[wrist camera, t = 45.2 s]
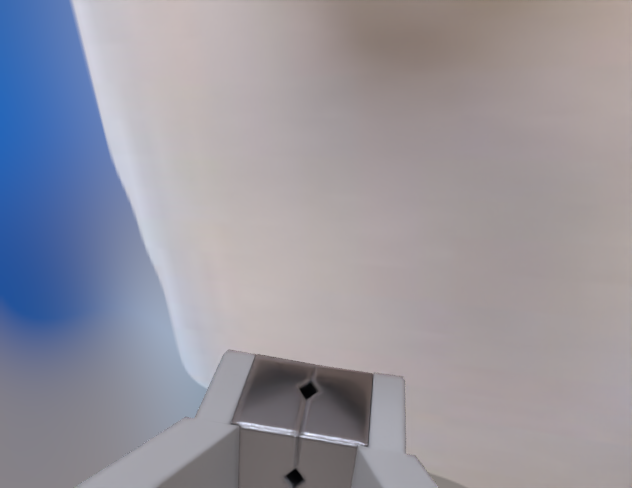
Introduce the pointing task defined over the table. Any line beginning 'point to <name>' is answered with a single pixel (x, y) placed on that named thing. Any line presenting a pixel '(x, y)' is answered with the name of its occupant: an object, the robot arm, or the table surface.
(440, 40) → the table surface
